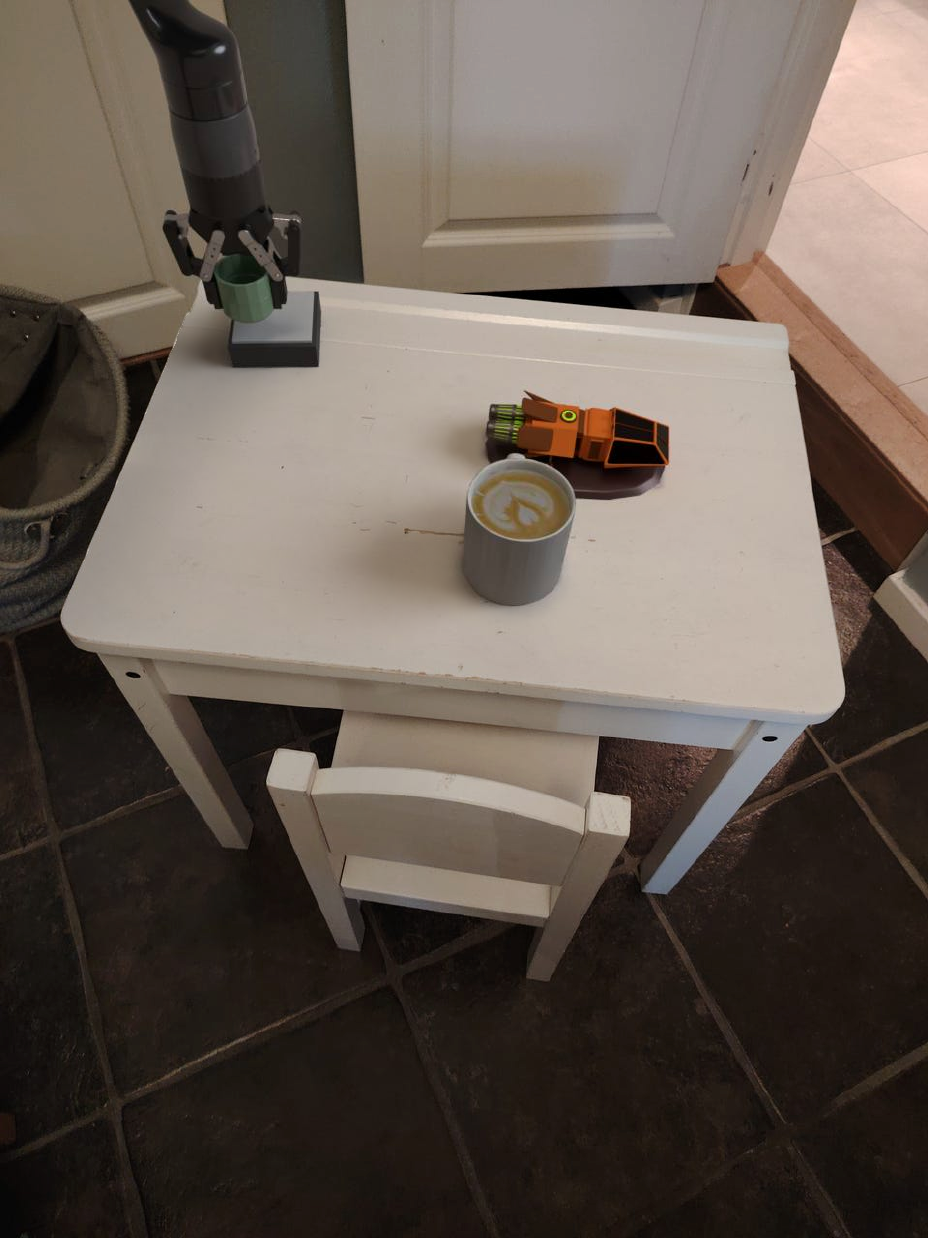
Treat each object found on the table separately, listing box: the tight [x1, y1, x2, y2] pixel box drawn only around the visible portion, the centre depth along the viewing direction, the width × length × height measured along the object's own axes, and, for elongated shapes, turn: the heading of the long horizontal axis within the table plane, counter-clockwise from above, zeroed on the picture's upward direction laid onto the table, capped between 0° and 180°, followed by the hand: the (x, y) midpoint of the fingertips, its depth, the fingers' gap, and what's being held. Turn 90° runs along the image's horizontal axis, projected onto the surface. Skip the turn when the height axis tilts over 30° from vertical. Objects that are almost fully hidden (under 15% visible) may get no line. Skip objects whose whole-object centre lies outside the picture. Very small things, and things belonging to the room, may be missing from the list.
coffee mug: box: [461, 453, 577, 606], centre depth 80 cm, size 13×10×10 cm
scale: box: [227, 290, 322, 369], centre depth 99 cm, size 10×10×3 cm
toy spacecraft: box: [484, 389, 670, 500], centre depth 89 cm, size 12×20×6 cm, turn 82°
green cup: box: [213, 254, 275, 323], centre depth 91 cm, size 6×6×5 cm
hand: (249, 304), depth 93 cm, fingers closed on green cup, 6 cm apart
